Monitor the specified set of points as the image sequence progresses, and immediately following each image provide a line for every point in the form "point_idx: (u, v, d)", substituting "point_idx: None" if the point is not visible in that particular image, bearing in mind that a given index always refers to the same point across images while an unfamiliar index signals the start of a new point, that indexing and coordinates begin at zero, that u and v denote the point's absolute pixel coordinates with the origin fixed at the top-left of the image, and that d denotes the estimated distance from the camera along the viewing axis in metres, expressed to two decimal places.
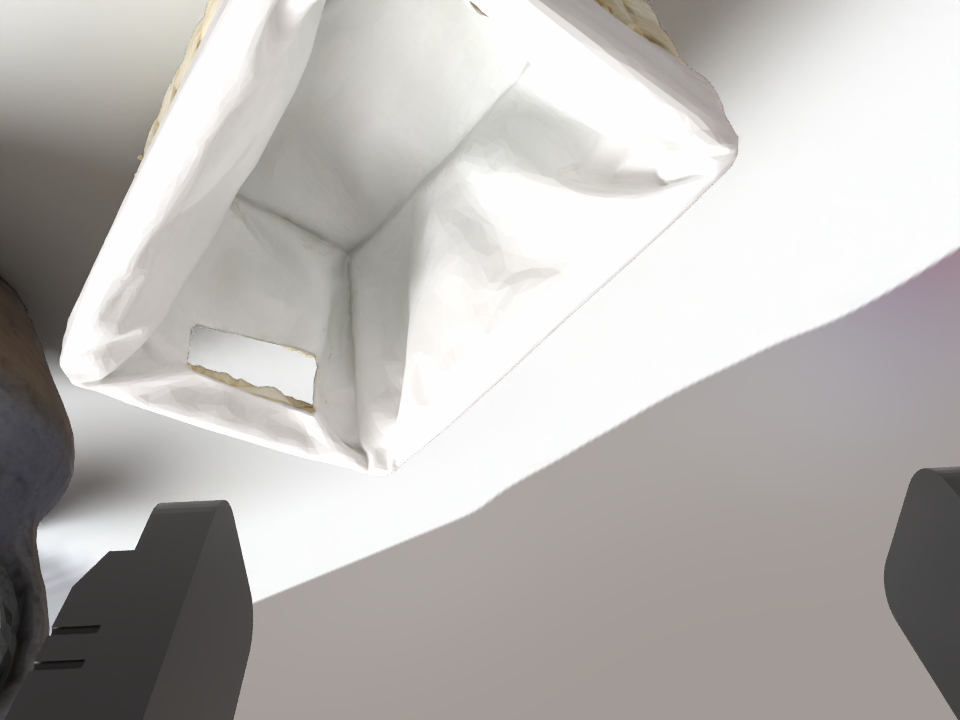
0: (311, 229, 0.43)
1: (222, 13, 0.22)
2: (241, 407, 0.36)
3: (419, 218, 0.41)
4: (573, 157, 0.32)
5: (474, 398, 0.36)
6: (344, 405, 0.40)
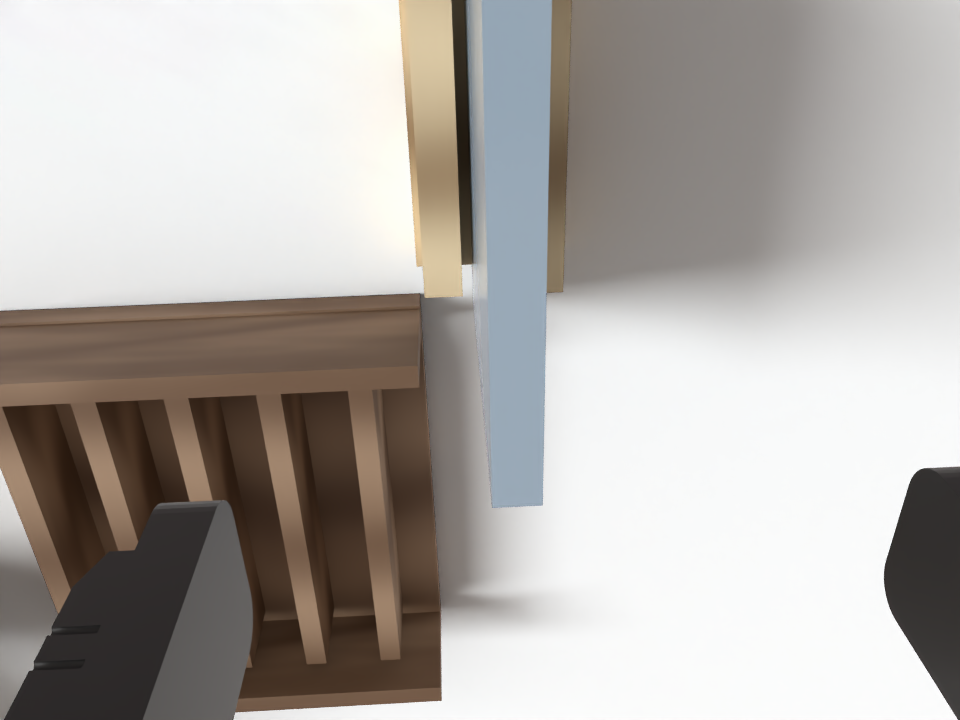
0: None
1: None
2: None
3: None
4: None
5: None
6: None
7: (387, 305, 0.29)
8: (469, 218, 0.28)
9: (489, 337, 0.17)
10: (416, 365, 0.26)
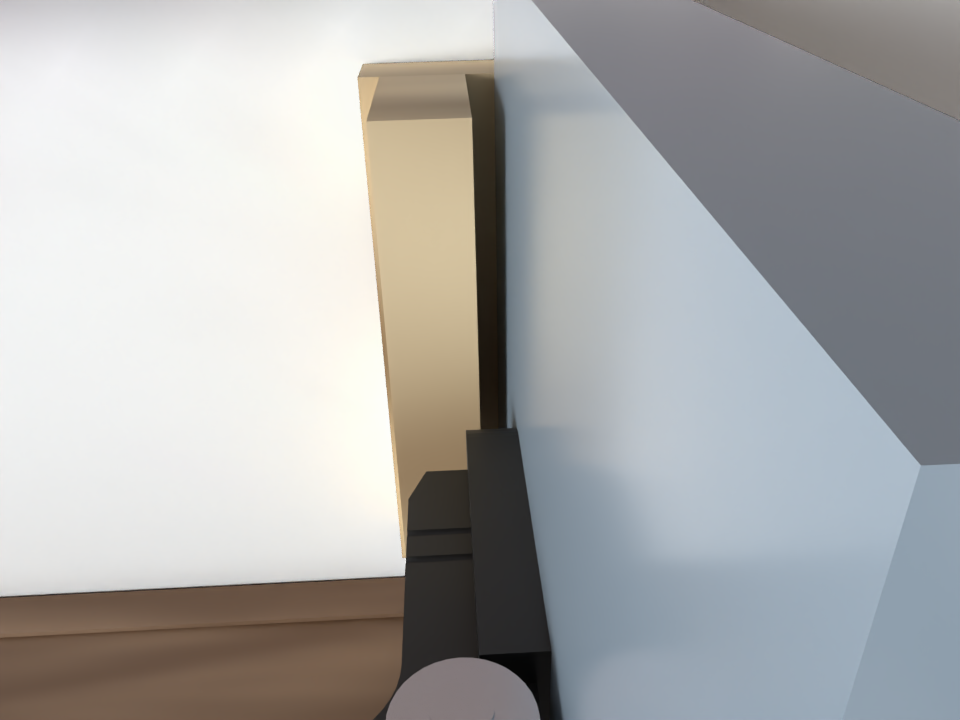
0: None
1: None
2: None
3: None
4: None
5: None
6: None
7: (352, 608, 0.17)
8: None
9: None
10: None
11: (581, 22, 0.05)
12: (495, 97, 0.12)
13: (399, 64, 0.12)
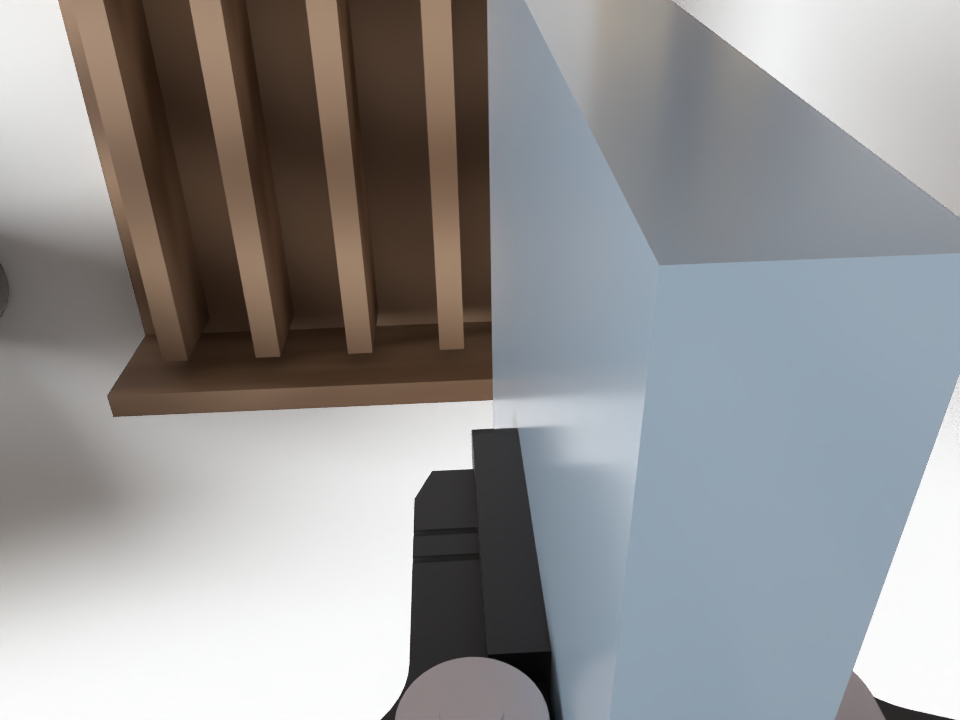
0: None
1: None
2: None
3: None
4: None
5: None
6: None
7: None
8: None
9: None
10: None
11: (553, 4, 0.07)
12: (488, 55, 0.13)
13: None
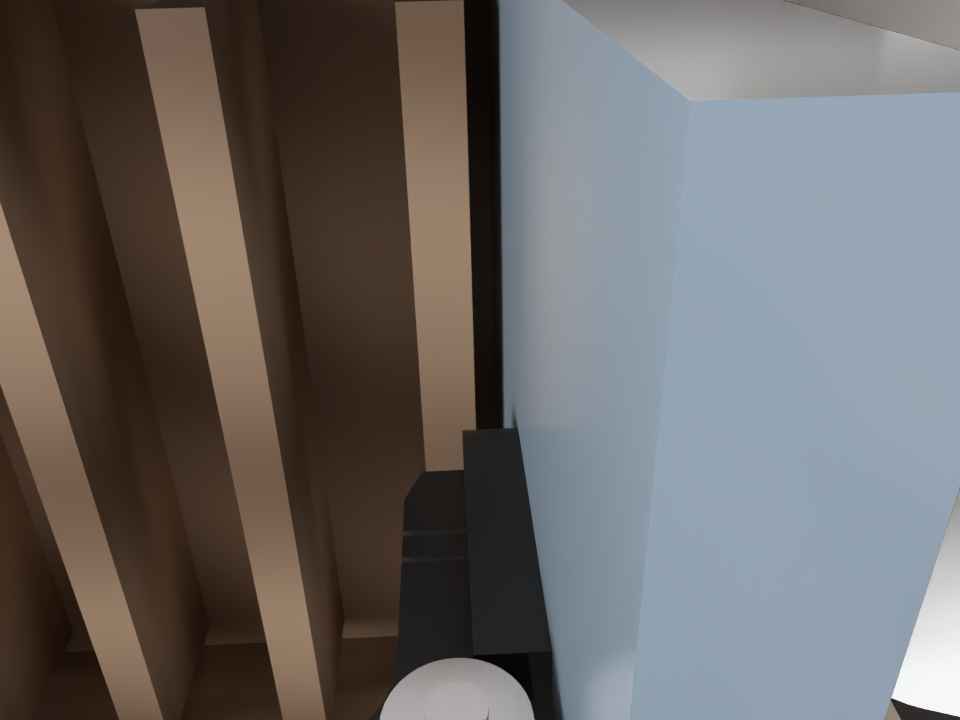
0: None
1: None
2: None
3: None
4: None
5: None
6: None
7: None
8: None
9: None
10: None
11: None
12: (490, 72, 0.13)
13: None
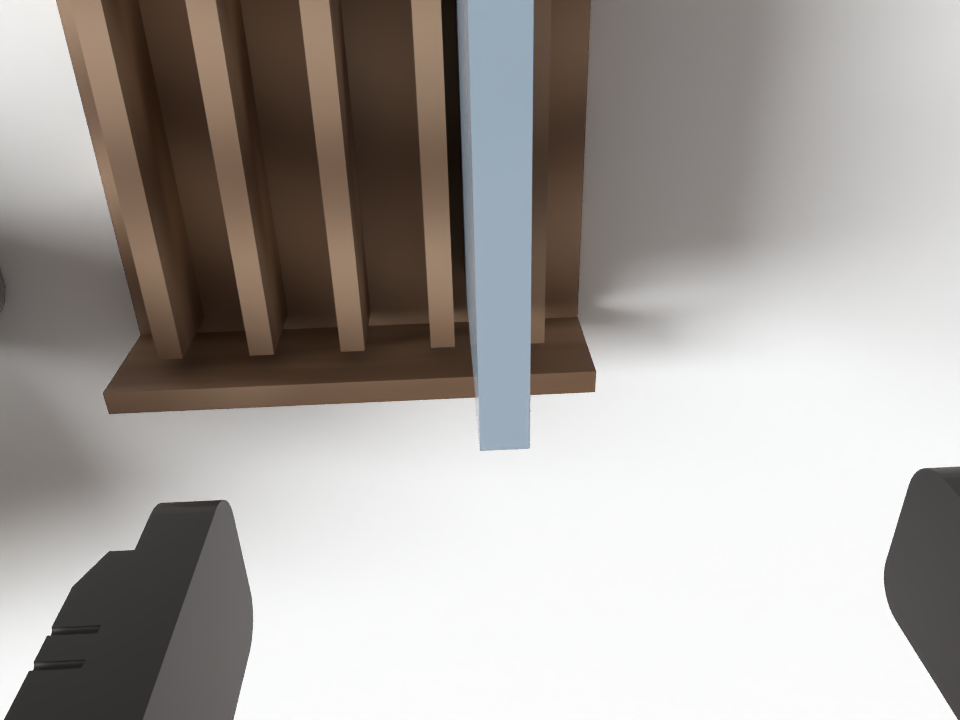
0: None
1: None
2: None
3: None
4: None
5: None
6: None
7: None
8: None
9: (476, 275, 0.18)
10: None
11: None
12: None
13: None
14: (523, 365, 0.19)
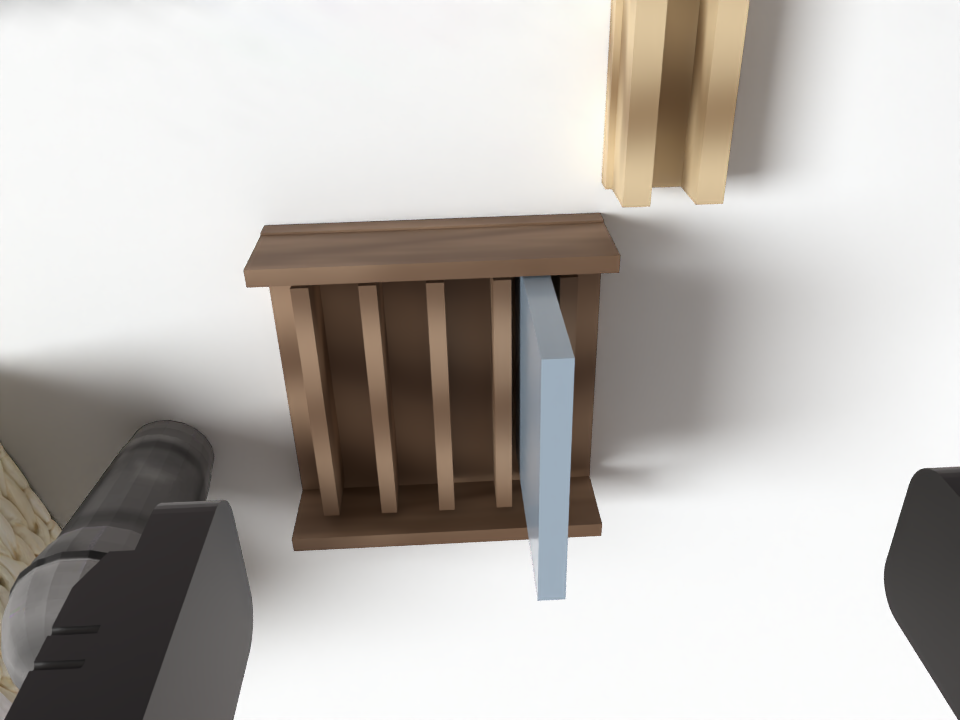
0: None
1: None
2: None
3: None
4: None
5: None
6: None
7: (578, 220, 0.39)
8: None
9: (539, 518, 0.33)
10: (619, 255, 0.35)
11: (533, 301, 0.34)
12: (515, 280, 0.40)
13: None
14: (563, 559, 0.34)
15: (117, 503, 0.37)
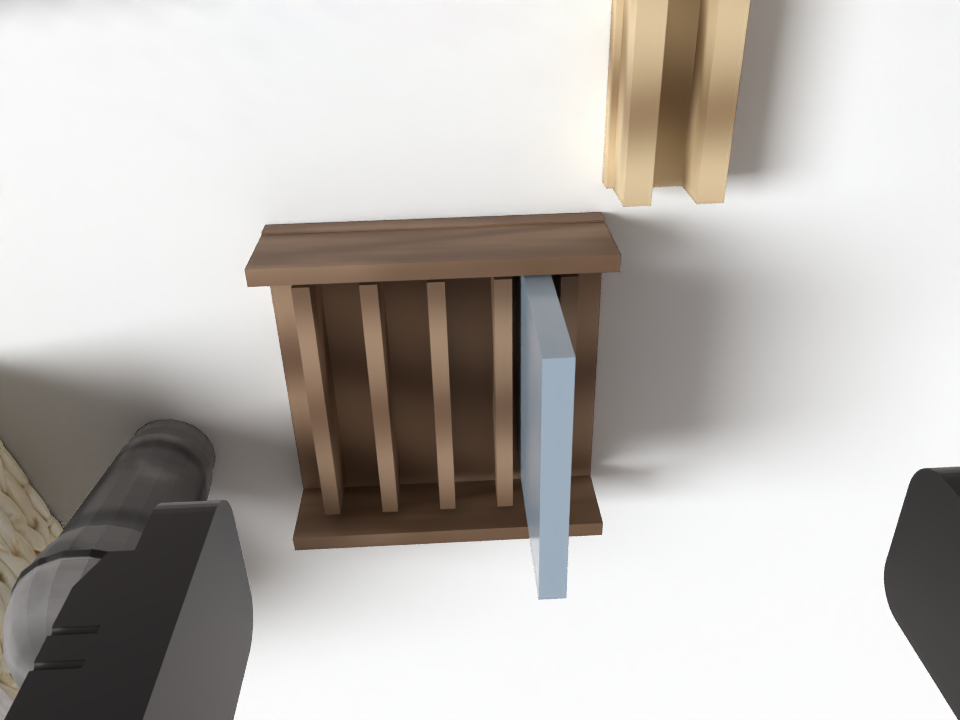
0: None
1: None
2: None
3: None
4: None
5: None
6: None
7: (579, 219, 0.39)
8: None
9: (540, 517, 0.33)
10: (620, 254, 0.35)
11: (534, 300, 0.34)
12: (516, 279, 0.40)
13: None
14: (563, 558, 0.34)
15: (118, 502, 0.37)
